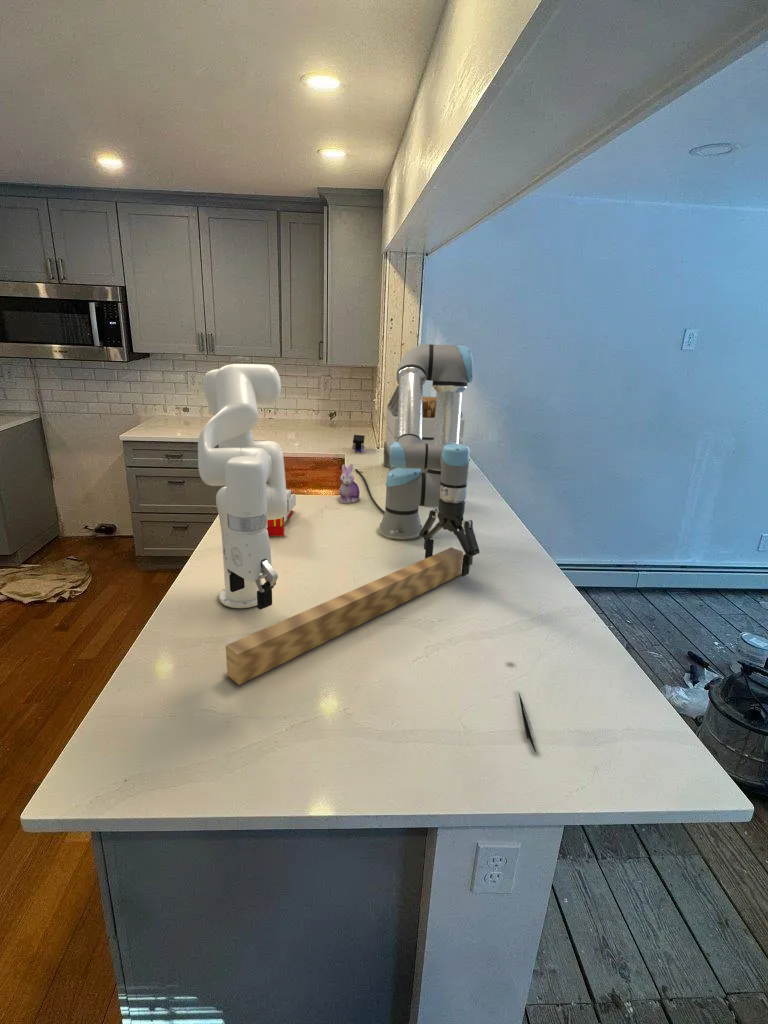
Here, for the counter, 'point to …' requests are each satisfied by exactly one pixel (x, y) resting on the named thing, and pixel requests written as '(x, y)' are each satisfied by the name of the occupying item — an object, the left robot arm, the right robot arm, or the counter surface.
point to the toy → (277, 525)
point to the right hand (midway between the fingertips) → (446, 567)
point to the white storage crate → (427, 424)
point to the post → (337, 616)
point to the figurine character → (358, 442)
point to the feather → (526, 723)
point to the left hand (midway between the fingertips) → (250, 598)
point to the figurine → (348, 486)
